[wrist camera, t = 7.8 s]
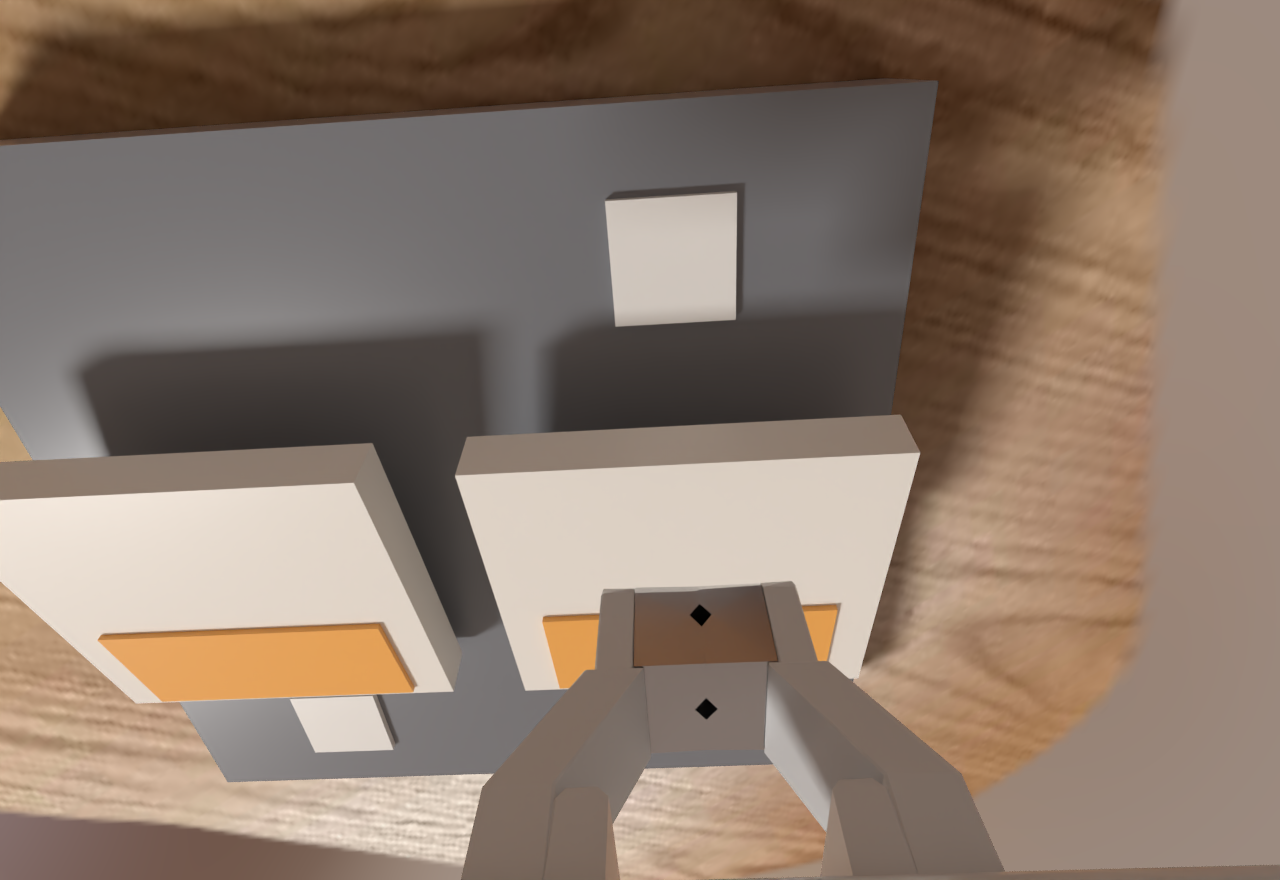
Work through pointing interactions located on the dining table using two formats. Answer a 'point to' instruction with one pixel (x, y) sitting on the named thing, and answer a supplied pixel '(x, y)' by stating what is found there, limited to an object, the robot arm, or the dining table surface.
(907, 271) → the switch panel
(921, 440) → the dining table surface
